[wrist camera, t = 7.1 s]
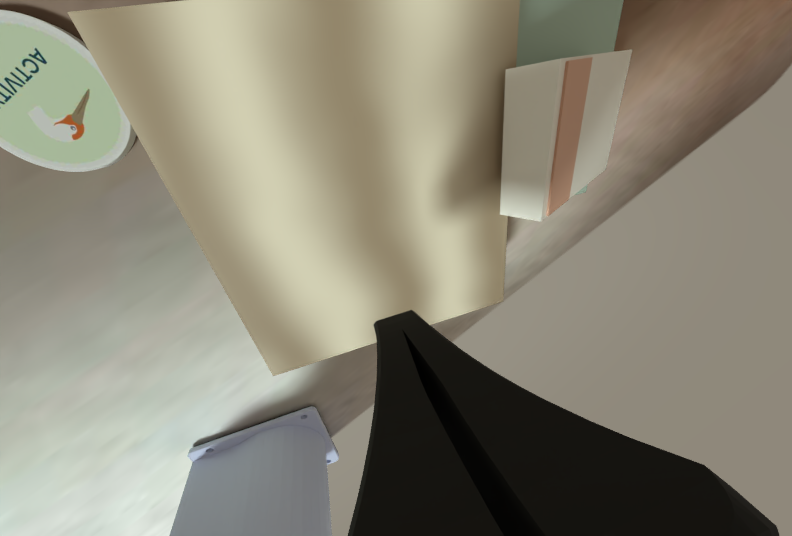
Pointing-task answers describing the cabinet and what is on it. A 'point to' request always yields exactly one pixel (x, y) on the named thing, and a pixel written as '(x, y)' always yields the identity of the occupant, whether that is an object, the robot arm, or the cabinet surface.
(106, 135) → the sign
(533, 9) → the mat
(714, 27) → the cabinet surface
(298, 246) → the cream piece
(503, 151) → the white striped box
